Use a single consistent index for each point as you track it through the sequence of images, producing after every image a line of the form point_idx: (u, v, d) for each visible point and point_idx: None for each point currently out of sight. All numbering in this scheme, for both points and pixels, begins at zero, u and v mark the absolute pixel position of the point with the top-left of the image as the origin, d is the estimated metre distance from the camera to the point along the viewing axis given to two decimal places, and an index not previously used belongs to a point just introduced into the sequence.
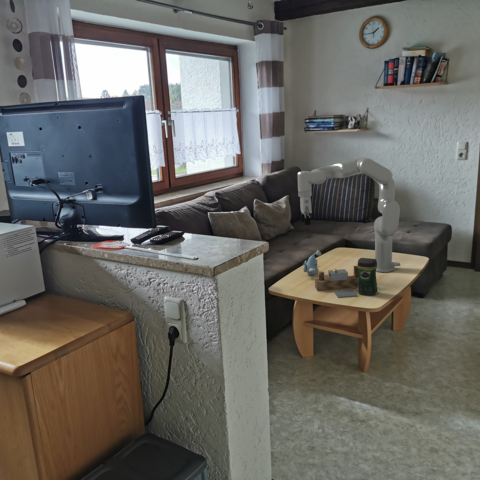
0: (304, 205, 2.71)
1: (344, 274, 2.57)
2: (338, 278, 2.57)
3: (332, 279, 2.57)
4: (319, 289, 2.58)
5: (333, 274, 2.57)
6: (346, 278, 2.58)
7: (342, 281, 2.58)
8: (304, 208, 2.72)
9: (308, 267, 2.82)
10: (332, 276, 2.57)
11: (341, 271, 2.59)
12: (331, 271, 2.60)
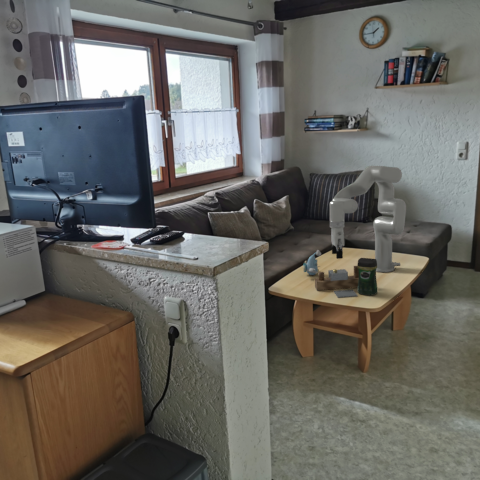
0: (336, 237, 2.50)
1: (344, 274, 2.57)
2: (338, 278, 2.57)
3: (332, 279, 2.57)
4: (319, 289, 2.58)
5: (333, 274, 2.57)
6: (346, 278, 2.58)
7: (342, 281, 2.58)
8: (336, 240, 2.51)
9: (308, 267, 2.82)
10: (332, 276, 2.57)
11: (341, 271, 2.59)
12: (331, 271, 2.60)
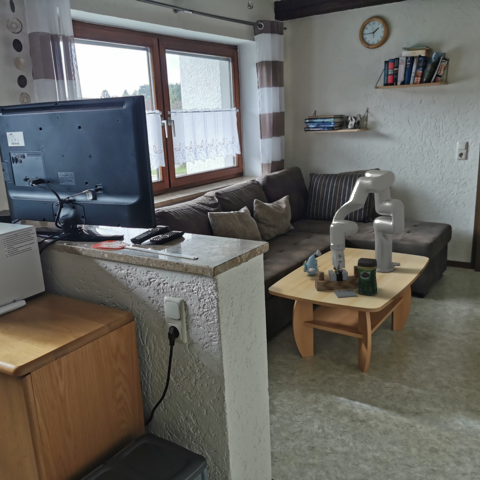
0: (337, 260, 2.53)
1: (344, 274, 2.57)
2: None
3: (332, 279, 2.57)
4: (319, 289, 2.58)
5: (333, 274, 2.57)
6: (346, 278, 2.58)
7: (342, 281, 2.58)
8: (337, 265, 2.54)
9: (308, 267, 2.82)
10: (332, 276, 2.57)
11: None
12: (331, 271, 2.60)
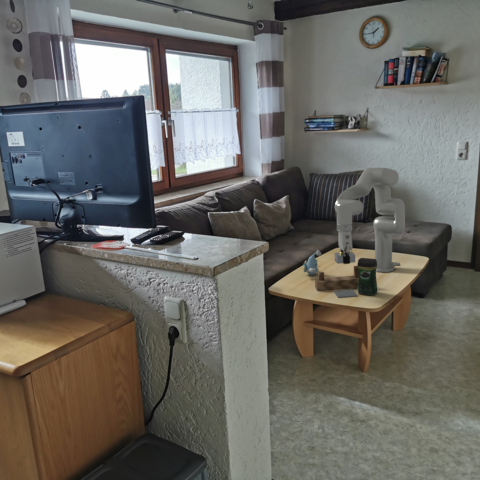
0: (344, 241, 2.40)
1: (351, 256, 2.44)
2: None
3: (338, 262, 2.44)
4: (319, 289, 2.58)
5: (340, 256, 2.43)
6: (353, 261, 2.44)
7: (342, 281, 2.58)
8: (344, 246, 2.40)
9: (308, 267, 2.82)
10: (338, 259, 2.43)
11: None
12: (337, 253, 2.47)
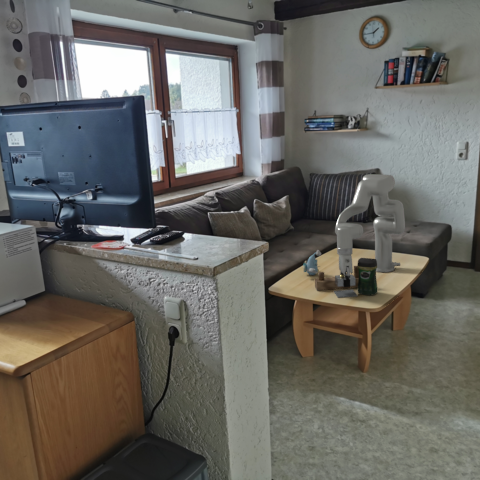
0: (344, 265, 2.42)
1: (351, 280, 2.46)
2: None
3: (339, 285, 2.47)
4: (319, 289, 2.58)
5: (340, 280, 2.46)
6: (353, 284, 2.47)
7: None
8: (344, 270, 2.43)
9: (308, 267, 2.82)
10: (339, 282, 2.46)
11: None
12: (338, 276, 2.49)
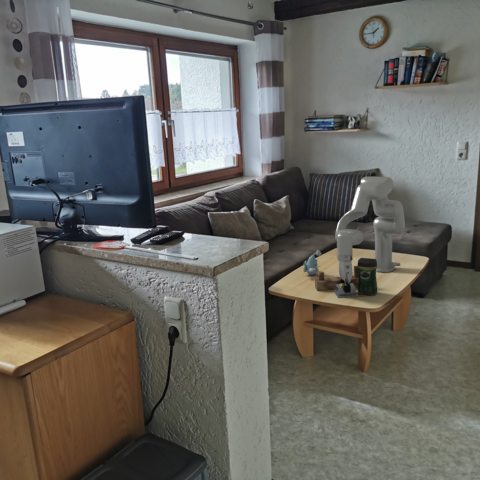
0: (344, 271, 2.43)
1: (352, 288, 2.48)
2: (345, 293, 2.48)
3: (339, 294, 2.48)
4: (319, 289, 2.58)
5: (340, 288, 2.47)
6: (354, 293, 2.48)
7: None
8: (344, 275, 2.44)
9: (308, 267, 2.82)
10: (339, 291, 2.47)
11: None
12: (338, 285, 2.51)
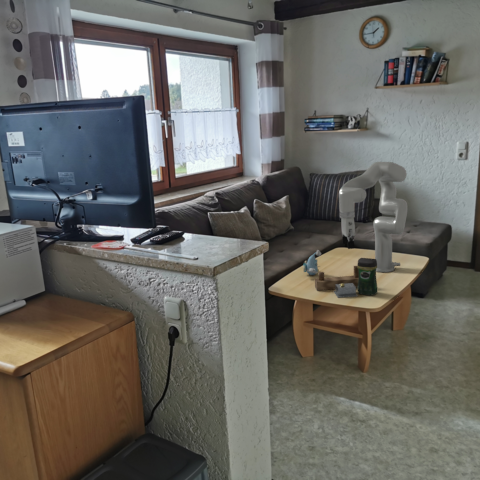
0: (347, 228, 2.49)
1: (352, 288, 2.48)
2: (345, 293, 2.48)
3: (339, 294, 2.48)
4: (319, 289, 2.58)
5: (340, 288, 2.47)
6: (354, 293, 2.48)
7: (342, 281, 2.58)
8: (347, 231, 2.49)
9: (308, 267, 2.82)
10: (339, 291, 2.48)
11: (348, 285, 2.50)
12: (338, 285, 2.51)
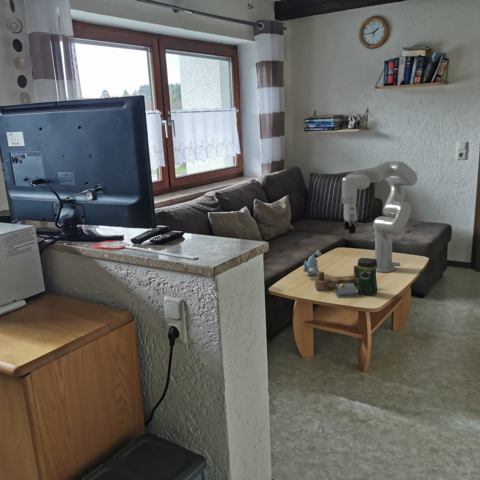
0: (349, 212, 2.57)
1: (352, 288, 2.48)
2: (345, 293, 2.48)
3: (339, 294, 2.48)
4: (319, 289, 2.58)
5: (340, 288, 2.47)
6: (354, 293, 2.48)
7: (342, 281, 2.58)
8: (349, 216, 2.57)
9: (308, 267, 2.82)
10: (339, 291, 2.48)
11: (348, 285, 2.50)
12: (338, 285, 2.51)
